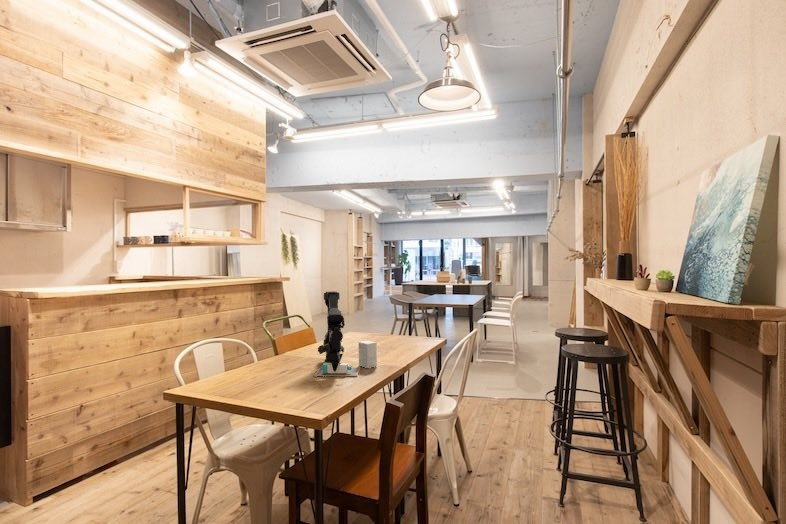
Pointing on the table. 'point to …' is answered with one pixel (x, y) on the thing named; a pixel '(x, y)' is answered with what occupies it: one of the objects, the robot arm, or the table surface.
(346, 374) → the slate board
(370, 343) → the small box
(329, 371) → the marker
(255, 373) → the table surface
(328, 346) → the robot arm
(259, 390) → the table surface
